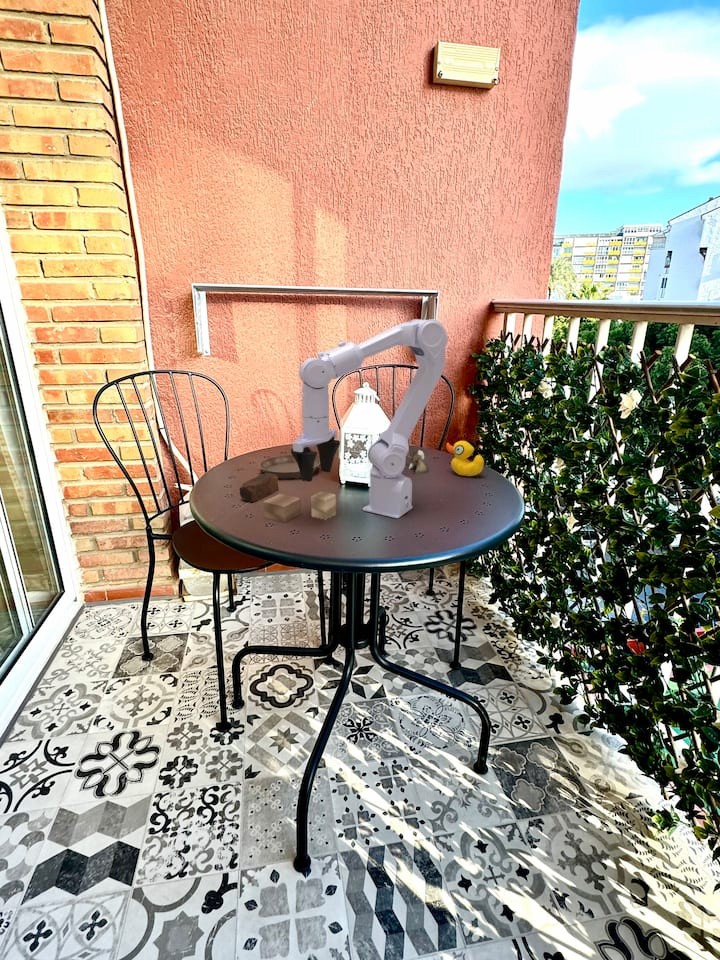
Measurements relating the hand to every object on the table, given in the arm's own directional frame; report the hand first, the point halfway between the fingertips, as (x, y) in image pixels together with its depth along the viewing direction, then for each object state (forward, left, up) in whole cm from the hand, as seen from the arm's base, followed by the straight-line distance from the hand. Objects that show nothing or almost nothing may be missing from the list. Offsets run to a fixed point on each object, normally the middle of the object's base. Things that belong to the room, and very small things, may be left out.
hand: (316, 475), depth 110 cm
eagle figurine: (-4, -45, -10) cm, 46 cm away
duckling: (-18, -47, -10) cm, 51 cm away
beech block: (-1, -1, -10) cm, 10 cm away
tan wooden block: (+7, +4, -10) cm, 13 cm away
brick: (+20, -3, -10) cm, 23 cm away
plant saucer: (+27, -23, -10) cm, 37 cm away
